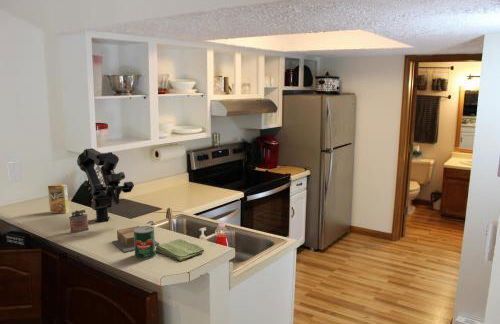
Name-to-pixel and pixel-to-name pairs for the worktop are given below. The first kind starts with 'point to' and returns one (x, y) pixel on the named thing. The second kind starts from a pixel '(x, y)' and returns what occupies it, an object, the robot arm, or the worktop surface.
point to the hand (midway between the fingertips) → (117, 204)
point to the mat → (124, 248)
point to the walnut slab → (126, 236)
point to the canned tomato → (144, 242)
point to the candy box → (58, 198)
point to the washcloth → (179, 249)
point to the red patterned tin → (78, 222)
